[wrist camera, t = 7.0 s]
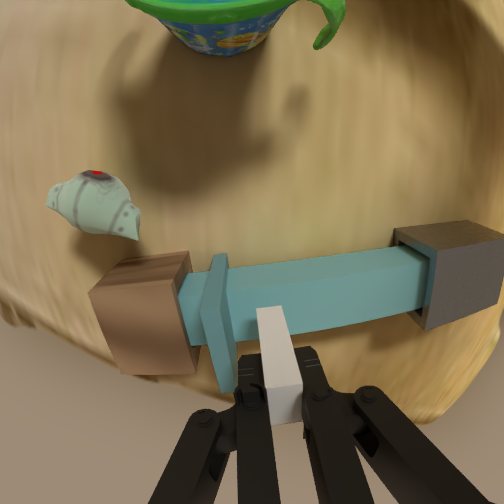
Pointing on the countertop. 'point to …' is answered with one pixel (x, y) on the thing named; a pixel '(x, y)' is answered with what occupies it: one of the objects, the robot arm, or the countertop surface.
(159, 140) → the countertop surface
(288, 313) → the tube
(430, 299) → the sleeve
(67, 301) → the countertop surface
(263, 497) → the robot arm
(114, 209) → the robot head
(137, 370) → the socket block
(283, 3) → the snack cup
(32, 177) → the countertop surface
